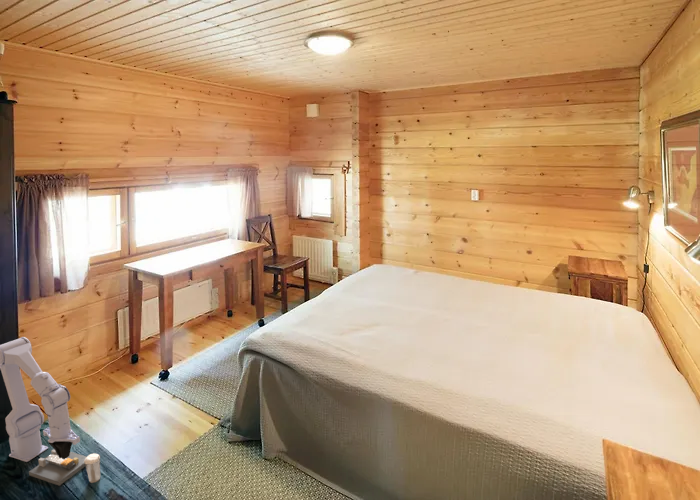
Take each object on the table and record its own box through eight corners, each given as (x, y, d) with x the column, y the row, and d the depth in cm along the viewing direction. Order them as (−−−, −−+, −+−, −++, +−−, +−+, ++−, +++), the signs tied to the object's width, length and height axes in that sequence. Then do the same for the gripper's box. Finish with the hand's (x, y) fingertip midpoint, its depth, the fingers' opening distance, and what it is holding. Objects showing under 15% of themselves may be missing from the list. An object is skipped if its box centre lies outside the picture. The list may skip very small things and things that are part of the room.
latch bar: (43, 460, 145) (43, 457, 145) (51, 455, 148) (51, 452, 148) (66, 468, 142) (65, 465, 142) (73, 462, 145) (73, 459, 144)
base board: (29, 475, 142) (27, 465, 141) (62, 452, 153) (61, 443, 152) (59, 485, 138) (57, 475, 137) (91, 461, 149) (90, 451, 148)
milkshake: (97, 485, 138) (93, 460, 136) (83, 483, 139) (80, 457, 137) (107, 476, 142) (104, 450, 140) (94, 473, 143) (91, 448, 141)
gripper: (32, 424, 139) (37, 459, 142) (63, 434, 135) (69, 469, 138) (52, 412, 146) (57, 446, 148) (83, 421, 141) (88, 455, 144)
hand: (64, 456), depth 143 cm, fingers closed
